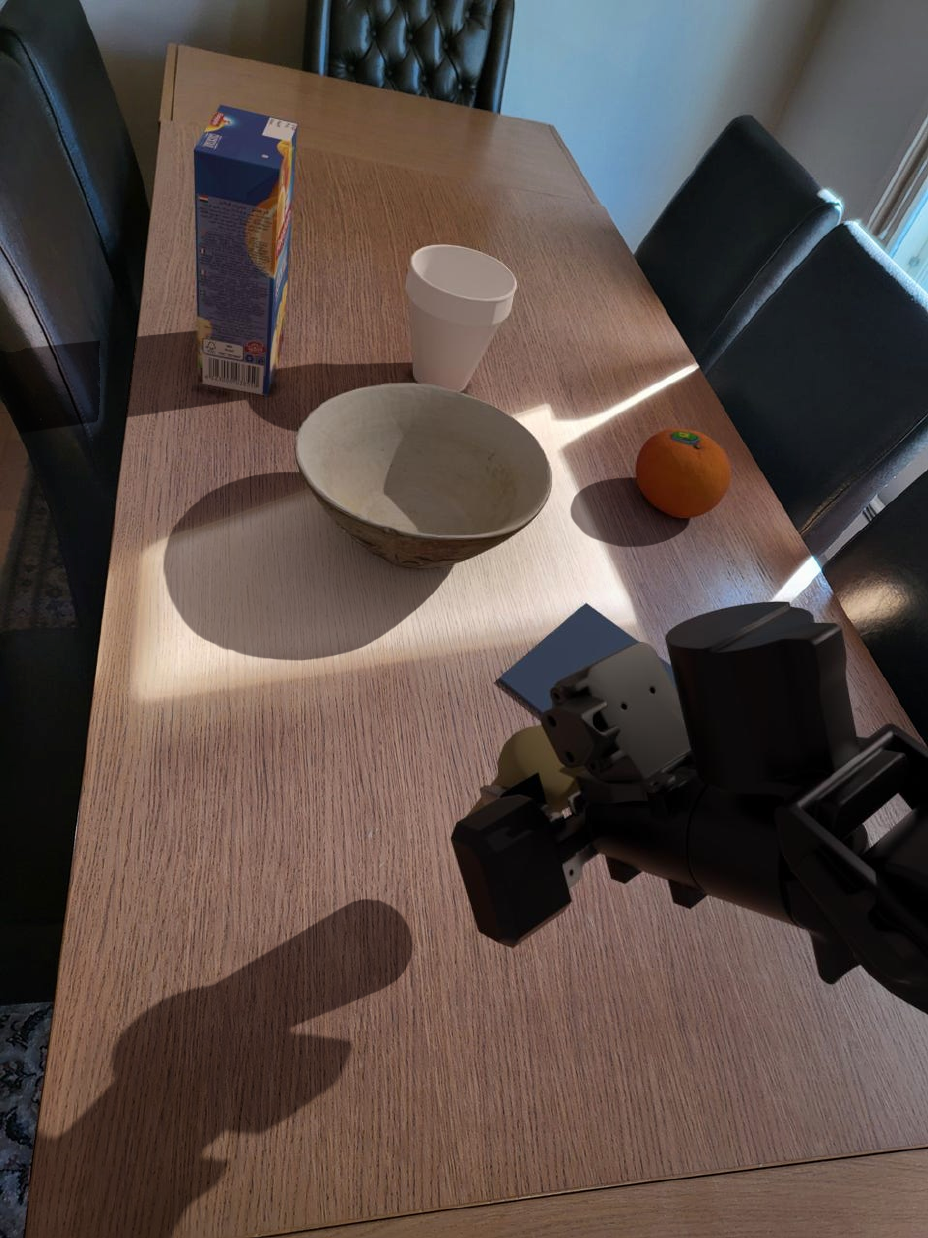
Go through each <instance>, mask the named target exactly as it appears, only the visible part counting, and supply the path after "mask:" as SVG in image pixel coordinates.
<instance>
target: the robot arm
mask: <svg viewBox="0 0 928 1238" xmlns="http://www.w3.org/2000/svg"><path fill="white" fill-rule="evenodd" d="M843 632H844V631H843V628H842V627H841V626H840V625H839V624H838V623H837V622H815V617H814V614H813V613H812V612H811V611H810V610H808V609H805V608H803V607H798V606H797V607H796V606H791V602H790V601H778V600H777V601H775V600H774V601H759V602H752V603H751V602H750V603H744V604H738V605H733V606H727V607H724V608H719V609H715V610H711V611H708V612H705V613H701V614H698V615H696V616H693V617H691V618H688V619H686V620H683V621H682V622H680V623H678V624H676V625H675V626H673V627H672V628H671V629H669V630H668V631H667V633H666V634H665V639H664V640H665V644H666V649H667V653H668V657H669V662H670V665H671V667H672V671H673V675H674V680H675V684H676V688H677V690H676V688H675V686H674V684H673V682H672V680H671V679H670V677H669V675H668V673H667V671H666V669H665V667H664V665H663V663H662V661H661V659H660V658H661V656H660V655H659V654H658V652H657V651H656V649H655V648H654V647H653V646H652V645H651V644H649V643H647V642H645V641H639V642H637V643H634V644H632V645H630V646H628V647H625V648H623V649H621V650H619V651H617V652H615V653H613V654H610V655H608V656H606V657H604V658H602V659H600V660H598V661H596V662H594V663H592V664H590V665H588V666H586V667H584V668H582V669H580V670H578V671H576V672H574V673H572V674H570V675H568V676H566V677H564V678H562V679H560V680H559V681H557V682H556V684H555V685H554V687H553V688H551V690H550V697H551V699H552V707H551V708H550V709H548V710H546V711H544V712H543V713H542V715H541V716H540V725H542V727H543V729H544V731H545V733H546V735H547V737H548V739H549V741H550V743H551V745H552V747H553V749H554V751H555V753H556V755H557V757H558V759H559V761H560V762H561V763H562V764H563V765H565V766H566V767H568V768H570V769H572V768H575V767H579V766H582V765H584V766H585V767H586V770H584V771H582V772H581V773H579V774H577V775H576V778H577V782H578V786H579V790H580V791H578V792H576V793H575V794H573V795H572V796H570V797H569V799H568V806H569V807H568V810H569V812H570V814H569V815H567V816H566V817H565V815H564V813H558V812H555V811H554V812H553V813H551V807H550V806H549V805H547V801H546V797H545V794H544V790H543V786H542V783H541V779H540V775H539V773H538V772H537V773H535V774H533V775H532V776H530V777H528V778H526V779H525V780H523V781H521V782H520V783H518V784H516V785H514V786H513V787H511V788H509V787H502V786H494V785H491V784H490V785H488V784H484V785H483V786H481V787H480V788H479V793H480V796H482V800H483V803H484V805H485V806H484V807H482V808H480V809H479V810H477V811H475V812H474V813H472V814H470V815H468V814H467V815H468V816H467V815H466V816H467V817H466V816H465V817H463V818H462V819H460V820H458V821H456V823H455V825H454V827H453V830H452V833H451V835H450V842H451V845H452V850H453V852H454V855H455V859H456V862H457V865H458V868H459V873H460V875H461V878H462V883H463V885H464V888H465V892H466V895H467V898H468V902H469V905H470V908H471V911H472V915H473V918H474V921H475V925H476V928H477V931H478V933H480V934H482V935H483V936H485V937H487V938H489V939H491V941H494V942H496V943H497V944H500V945H502V946H506V947H508V948H511V949H515V948H516V947H518V946H519V945H521V943H522V942H524V941H525V940H527V939H528V938H530V937H531V936H533V935H534V934H536V933H537V932H538V931H540V930H541V929H543V928H544V927H545V926H546V925H548V924H550V923H551V922H552V921H554V920H555V919H556V918H558V917H559V916H561V915H563V913H565V911H566V910H567V909H568V908H569V906H570V905H571V904H572V903H573V899H572V895H571V892H570V889H571V888H573V887H574V886H576V885H577V884H578V882H580V880H581V877H582V875H583V867H584V865H585V864H587V863H588V862H589V861H592V860H593V859H594V858H595V857H597V856H598V855H603V856H604V858H605V861H606V862H605V863H606V866H607V870H608V873H609V877H610V880H613V881H616V882H618V883H620V884H623V885H627V884H628V883H629V882H630V881H632V880H633V879H634V878H636V877H637V876H639V875H640V874H641V873H646V874H648V875H651V876H654V877H657V878H660V879H663V880H665V881H667V883H668V888H669V891H670V896H671V900H672V903H673V904H675V905H678V906H680V907H683V908H685V909H688V910H692V909H693V908H694V907H695V906H696V905H698V904H699V903H700V902H701V901H704V899H705V898H707V896H710V897H712V898H716V899H717V900H721V901H724V902H726V903H729V904H732V905H735V906H737V907H741V908H743V909H745V910H748V911H752V912H753V913H757V914H760V915H762V916H765V917H768V918H771V919H772V920H773V919H774V920H776V921H778V922H782V923H784V924H786V925H787V924H788V925H790V926H793V927H796V928H798V929H802V930H804V931H806V932H807V933H808V934H809V937H810V940H811V945H812V950H813V955H814V960H815V965H816V970H817V975H818V977H819V978H820V979H821V980H822V981H823V982H824V984H827V985H829V986H833V985H835V984H837V983H838V982H839V981H840V980H841V979H842V978H843V977H844V976H845V975H847V974H848V973H850V972H851V971H852V970H854V969H856V968H857V967H859V966H861V967H862V969H863V970H864V971H865V972H866V973H867V974H868V975H869V976H870V977H871V978H872V979H873V980H875V981H876V982H877V983H878V984H880V985H881V986H882V987H883V988H884V989H885V990H886V991H888V993H890V994H892V995H893V996H895V997H896V998H898V999H899V1000H901V1001H903V1002H905V1003H906V1004H908V1005H909V1006H911V1007H913V1008H915V1009H917V1010H918V1011H920V1012H922V1013H923V1014H926V1015H927V1016H928V747H927V746H926V745H924V744H923V743H921V742H920V741H919V740H917V739H916V738H914V737H913V736H912V735H911V734H909V733H907V732H906V731H905V730H903V729H902V728H901V727H900V726H898V725H896V724H895V723H892V722H889V723H885V724H884V725H882V726H881V727H880V728H879V729H877V730H876V731H874V732H873V733H872V734H870V735H869V736H868V737H863V736H858V734H857V730H856V724H855V718H854V714H853V713H854V712H853V708H852V703H851V702H852V701H851V697H850V692H849V691H850V690H849V686H848V681H847V662H848V656H847V648H846V644H845V637H844V633H843ZM897 795H899V796H900V797H901V799H902V800H903V801H904V802H905V804H906V805H907V806H908V807H909V809H910V810H911V811H909V813H907V814H906V815H905V816H904V817H903V818H902V819H900V820H899V821H898V822H897V823H896V824H895V825H894V826H892V828H890V829H889V830H888V831H886V833H885V834H883V836H881V837H880V839H877V841H876V842H875V843H874V844H872V845H871V844H870V839H869V835H868V834H869V833H868V831H867V830H868V829H867V828H866V826H865V824H864V823H865V822H866V821H868V820H869V819H870V818H871V817H873V816H874V814H876V813H877V812H878V811H879V810H880V809H882V808H883V807H884V806H886V804H887V803H888V802H890V801H891V800H893V798H894V797H896V796H897ZM550 813H551V814H550Z"/></svg>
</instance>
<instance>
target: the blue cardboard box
mask: <svg viewBox="0 0 928 1238" xmlns="http://www.w3.org/2000/svg"><path fill="white" fill-rule="evenodd" d="M297 139H298V122H296V121H295V122H294V121H290V120H288V119H287V120H286V119H282V118H278V117H273V116H270V115H265V114H261V113H257V112H253V111H249V110H244V109H241V108H236V107H232V106H228V105H224V104H219V106H218V108H217V109H216V111H215V112H214V114H213V116H212V118H211V120H210V121H209V123H208V124H207V126H206V128H205V130H204V131H203V133H202V134H201V136H200V137H199V140H198V142H197V143H196V145H195V146H194V148H193V174H194V175H193V177H194V178H193V179H194V225H195V226H194V227H195V269H196V270H195V271H196V272H195V273H196V319H197V322H196V323H197V361H198V362H197V367H198V369H197V371H198V384H203V385H208V386H213V387H219V388H223V389H228V390H229V389H230V390H234V391H235V390H236V391H241V392H246V393H249V394H250V393H251V394H257V395H260V396H261V395H263V396H267V397H268V396H269V393H270V390H271V386H272V383H273V380H274V376H275V372H276V369H277V365H278V361H279V358H280V354H281V352H282V347H283V344H284V340H285V327H286V326H285V325H286V312H287V311H286V309H287V294H288V279H289V264H290V263H289V262H290V247H291V231H292V217H293V216H292V215H293V202H294V201H293V200H294V187H295V186H294V184H295V170H296V169H295V168H296V156H297V155H296V154H297V153H296V152H297Z"/></svg>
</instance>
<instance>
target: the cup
mask: <svg viewBox="0 0 928 1238" xmlns="http://www.w3.org/2000/svg"><path fill="white" fill-rule="evenodd" d="M517 288H518V283H517V278H516V276H514V274H513V272H512V271H511V270H510V269H509V268H508V267H507V265H505V264H504V263H502V262H501V261H500V260H498V259H496V258H495V257H492V256H490V255H488V254H486V253H485V252H483V251H482V252H481V251H478V250H477V249H476V250H475V249H473V248H470V247H466V246H465V247H464V246H460V245H453V244H430V245H427V246H421V248H418V249H417V250H416V251H414V252H413V253H412V255H410V258H409V268H408V270H407V275H406V278H405V285H404V290H405V292H406V294H407V298H408V311H409V314H408V316H409V328H410V329H409V330H410V347H411V350H410V351H411V363H412V364H411V365H412V366H411V367H412V376H413V379H414V380H415V381H416V383H424V384H432V385H435V386H440V387H444V388H447V389H451V390H455V391H458V392H461V393H462V392H463V391H464V390H465V389H466V387H467V386H468V384H469V382H470V380H471V379H472V377H473V375H474V373H475V372H476V369H477V368H478V367H479V365H480V362H481V360H482V358H483V356H484V355H485V353H486V352H487V350H488V348H489V346H490V344H491V343H492V341H493V339H494V337H495V335H496V333H497V331H498V329H499V328H500V326H501V324H502V322H503V321H505V320H506V319H507V318H508V317H509V316H510V313H511V311H512V307H513V301H514V298H515V292H516V291H517Z"/></svg>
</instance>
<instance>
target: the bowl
mask: <svg viewBox="0 0 928 1238" xmlns="http://www.w3.org/2000/svg"><path fill="white" fill-rule="evenodd" d="M293 448H294V449H293V451H294V458H295V462H296V466H297V468H298V471H299V474H300V476H301V478H302V479H303V482H304V483H305V485H306V487H307V488H308V490H309V491H310V493H311V494H312V496H313V497H314V498H315V499H316V500H317V502H318V503H319V504H320V505H321V507H322V508H323V509H324V510H325V512H326V513H327V514H328V515H329V516H330V518H332V519H333V520H334V522H335V523H336V524H337V525H338V526H339V528H341V529H342V530H343V531H344V532H345V533H346V534H347V535H348V536H349V537H351V538H352V539H353V540H354V541H356V542H357V543H358V544H360V545H361V546H362V547H363V548H365V549H366V550H368V551H369V552H371V553H372V554H374V555H376V556H377V557H379V558H381V559H382V560H385V561H387V562H389V563H391V564H393V565H396V566H400V567H405V568H409V569H434V568H440V567H442V568H443V567H446V566H451V565H455V564H459V563H462V562H465V561H467V560H470V559H472V558H473V559H474V558H475V557H477V556H479V555H481V554H484V553H486V552H488V551H490V550H492V549H494V548H496V547H498V546H499V545H501V544H503V543H504V542H506V541H508V540H509V539H511V538H512V537H513V536H515V535H517V534H518V533H519V532H521V531H522V530H524V529H525V528H526V527H528V525H530V524H531V523H532V521H534V519H535V518H536V517H538V515H539V514H540V513H541V512H542V511H543V509H544V507H545V506H546V504H547V502H548V501H549V499H550V495H551V492H552V488H553V471H552V466H551V465H550V461H549V459H548V457H547V454H546V452H545V449H544V448H543V446H542V445H541V443H540V442H539V440H538V439H537V438H536V436H535V435H533V434H532V432H531V431H530V430H528V428H526V427H525V426H524V425H523V424H522V423H520V421H518V420H517V419H516V418H514V416H512V415H511V414H509V413H507V412H506V411H505V410H503V409H502V408H499V407H497V406H495V405H493V404H491V403H489V402H487V401H484V400H483V399H480V398H479V397H478V398H477V397H475V396H471V395H469V394H466V393H463V392H462V391H461V392H458V391H455V390H451V389H447V388H444V387H440V386H435V385H432V384H424V383H418V382H397V383H392V382H391V383H389V382H386V383H380V384H376V385H368V386H365V387H359V388H355V389H351V390H350V391H346V392H345V391H344V392H342V393H340V394H338V395H336V396H333V397H331V398H329V399H327V400H325V401H323V402H322V403H321V404H319V406H318V407H317V408H316V409H314V410H312V411H311V412H310V414H308V415H307V417H306V418H305V420H304V421H303V422H302V424H301V425H300V427H299V428H298V431H297V432H296V437H295V440H294V447H293Z"/></svg>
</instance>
